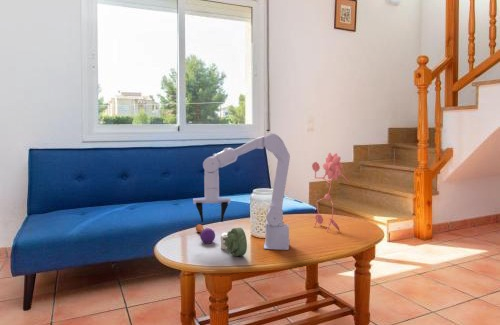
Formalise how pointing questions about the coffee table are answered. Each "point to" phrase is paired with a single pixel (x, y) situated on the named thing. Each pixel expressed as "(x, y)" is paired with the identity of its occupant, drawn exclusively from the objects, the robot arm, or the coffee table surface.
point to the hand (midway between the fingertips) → (212, 221)
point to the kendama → (205, 234)
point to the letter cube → (223, 240)
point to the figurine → (333, 171)
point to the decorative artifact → (236, 242)
